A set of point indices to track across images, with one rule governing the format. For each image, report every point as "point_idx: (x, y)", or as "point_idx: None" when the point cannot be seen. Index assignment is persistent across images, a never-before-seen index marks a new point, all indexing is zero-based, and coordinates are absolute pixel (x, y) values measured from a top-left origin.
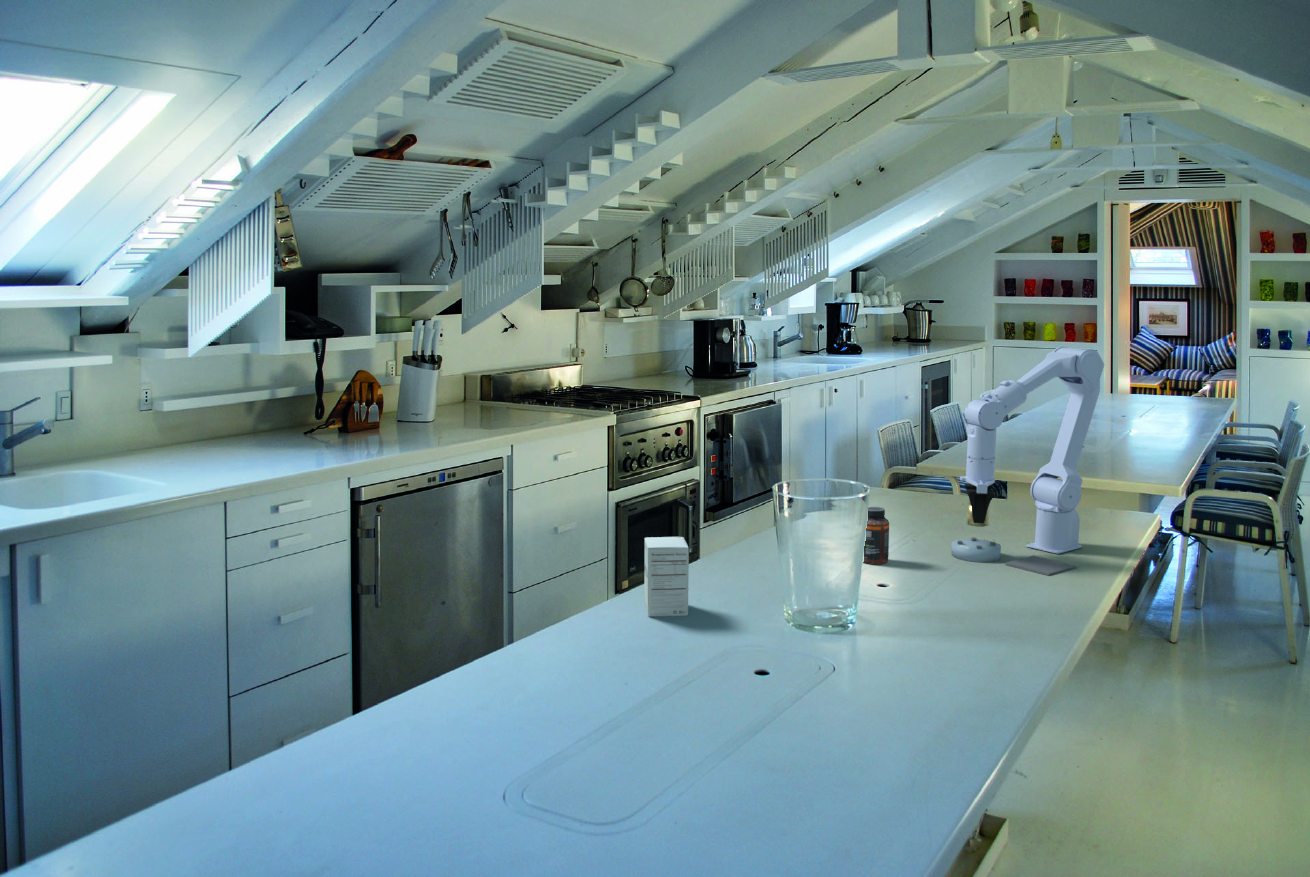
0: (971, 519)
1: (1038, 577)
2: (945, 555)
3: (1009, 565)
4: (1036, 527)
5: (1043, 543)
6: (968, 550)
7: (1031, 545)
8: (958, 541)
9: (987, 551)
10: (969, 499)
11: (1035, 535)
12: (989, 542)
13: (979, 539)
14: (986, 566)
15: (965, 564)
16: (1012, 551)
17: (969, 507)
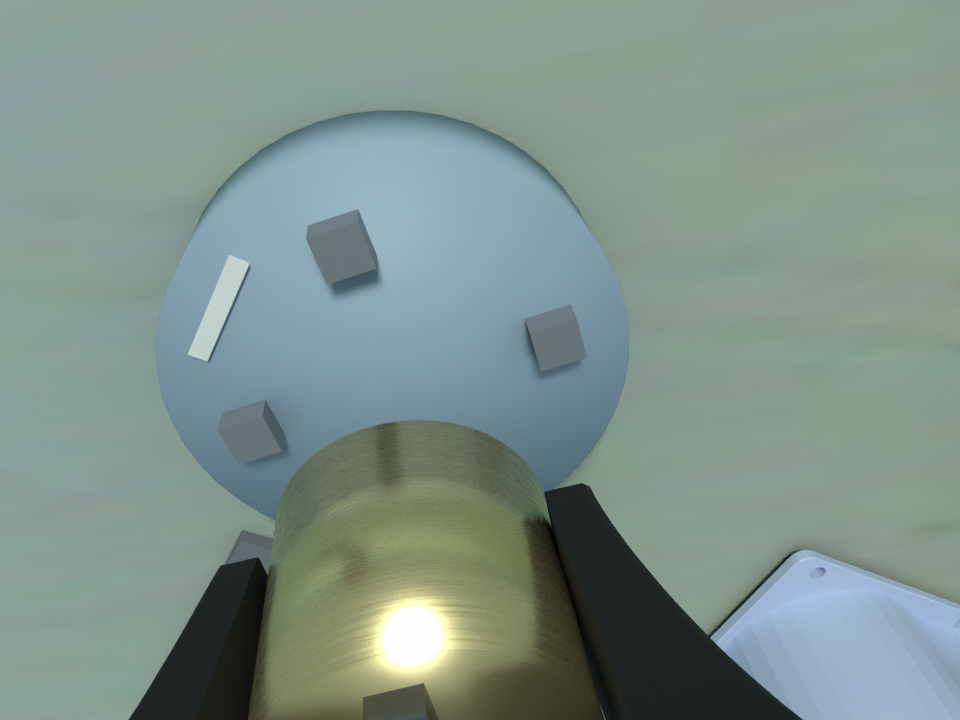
0: (275, 553)
1: (62, 705)
2: (268, 63)
3: (228, 557)
4: (866, 709)
5: (745, 666)
6: (156, 350)
7: (789, 583)
8: (314, 242)
9: (227, 484)
10: (621, 686)
11: (849, 647)
12: (534, 451)
13: (620, 364)
14: (108, 442)
15: (48, 299)
16: (658, 500)
17: (281, 675)
